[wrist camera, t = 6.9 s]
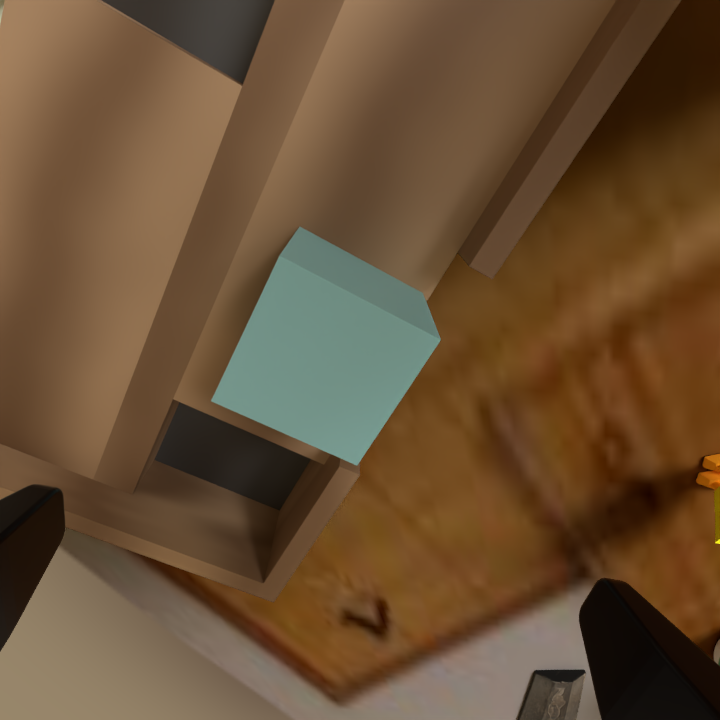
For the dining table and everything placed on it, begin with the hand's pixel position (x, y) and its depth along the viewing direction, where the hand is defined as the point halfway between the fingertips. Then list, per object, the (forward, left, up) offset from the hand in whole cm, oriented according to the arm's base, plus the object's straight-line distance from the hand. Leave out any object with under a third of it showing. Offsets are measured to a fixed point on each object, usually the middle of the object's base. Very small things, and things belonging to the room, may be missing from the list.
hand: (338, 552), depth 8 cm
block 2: (-23, +17, -13) cm, 31 cm away
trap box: (+5, -2, -12) cm, 13 cm away
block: (+1, 0, -9) cm, 9 cm away
